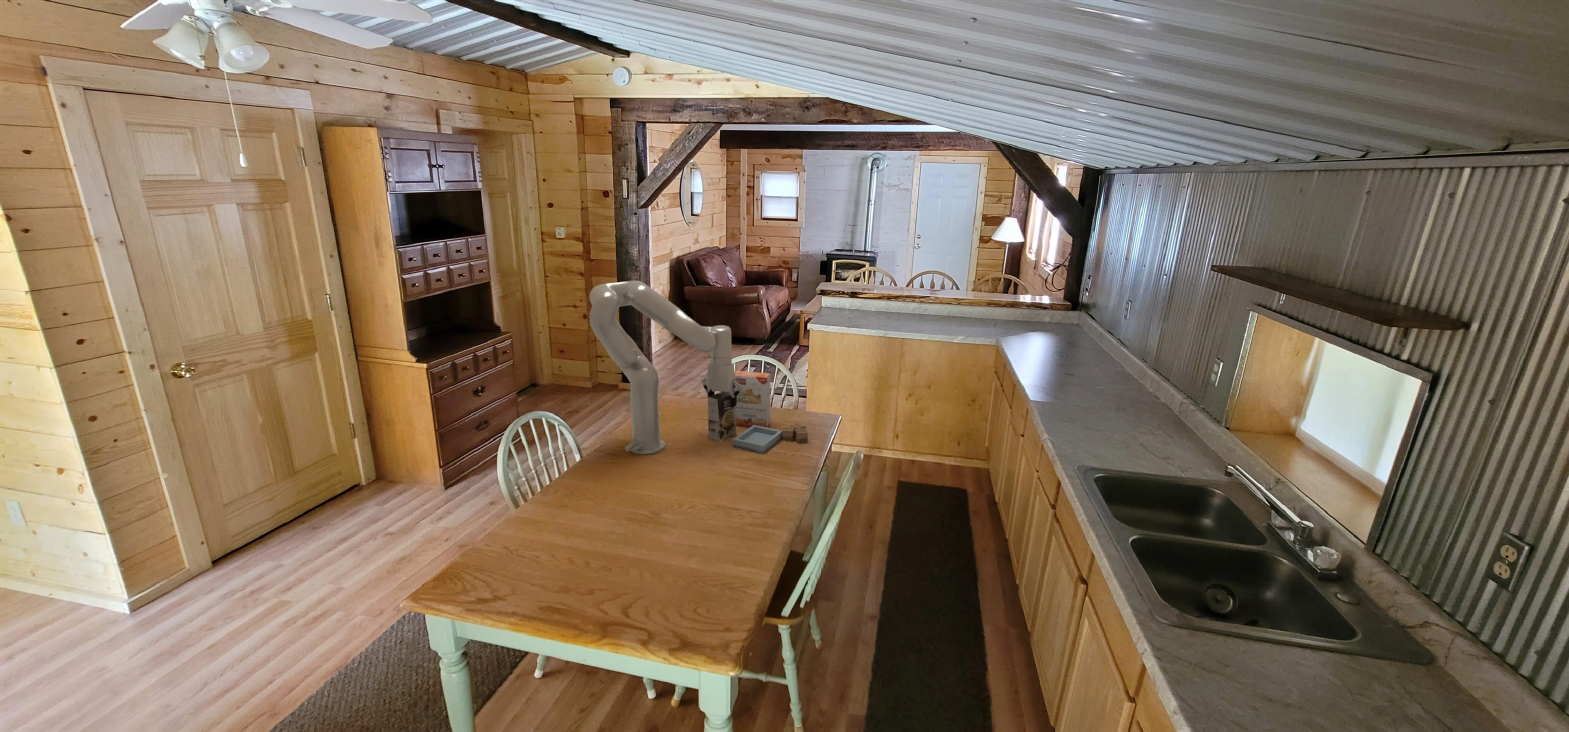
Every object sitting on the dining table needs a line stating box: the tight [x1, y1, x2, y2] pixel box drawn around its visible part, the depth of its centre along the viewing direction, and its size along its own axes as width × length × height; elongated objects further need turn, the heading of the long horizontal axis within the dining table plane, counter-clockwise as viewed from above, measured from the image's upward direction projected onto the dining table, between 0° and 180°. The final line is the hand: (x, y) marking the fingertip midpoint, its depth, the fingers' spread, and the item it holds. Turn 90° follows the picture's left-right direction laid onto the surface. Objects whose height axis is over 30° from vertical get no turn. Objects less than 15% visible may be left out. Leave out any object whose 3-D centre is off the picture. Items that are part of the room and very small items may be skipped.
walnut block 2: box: [790, 422, 807, 430], centre depth 243 cm, size 4×4×4 cm
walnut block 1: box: [781, 426, 795, 442], centre depth 240 cm, size 4×4×4 cm
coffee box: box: [707, 391, 737, 442], centre depth 240 cm, size 9×6×16 cm
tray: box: [732, 425, 783, 455], centre depth 236 cm, size 15×12×3 cm
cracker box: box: [735, 370, 771, 428], centre depth 250 cm, size 14×6×21 cm, turn 78°
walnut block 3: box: [794, 428, 809, 444], centre depth 238 cm, size 4×4×4 cm
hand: (722, 404), depth 239 cm, fingers open, 9 cm apart
